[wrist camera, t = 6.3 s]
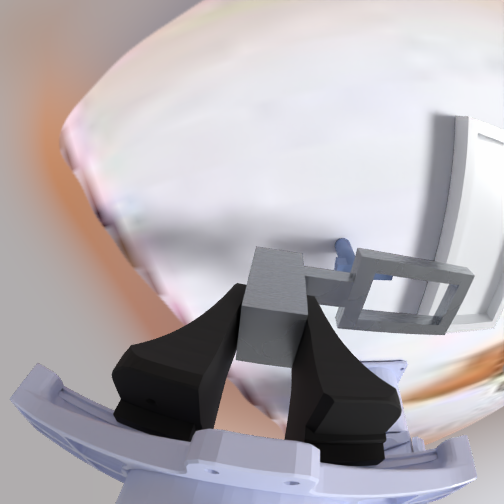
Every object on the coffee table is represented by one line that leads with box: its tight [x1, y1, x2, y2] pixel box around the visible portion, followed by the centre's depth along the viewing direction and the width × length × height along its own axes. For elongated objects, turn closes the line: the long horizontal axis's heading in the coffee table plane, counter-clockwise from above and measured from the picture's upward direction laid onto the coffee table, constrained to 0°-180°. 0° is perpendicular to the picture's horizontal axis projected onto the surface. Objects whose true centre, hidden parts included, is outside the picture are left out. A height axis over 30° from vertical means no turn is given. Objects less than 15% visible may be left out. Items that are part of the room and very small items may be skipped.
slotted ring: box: [236, 247, 475, 368], centre depth 12 cm, size 13×5×5 cm, turn 84°
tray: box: [417, 116, 504, 335], centre depth 17 cm, size 19×10×2 cm, turn 1°
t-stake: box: [334, 238, 393, 280], centre depth 19 cm, size 1×4×4 cm, turn 90°
